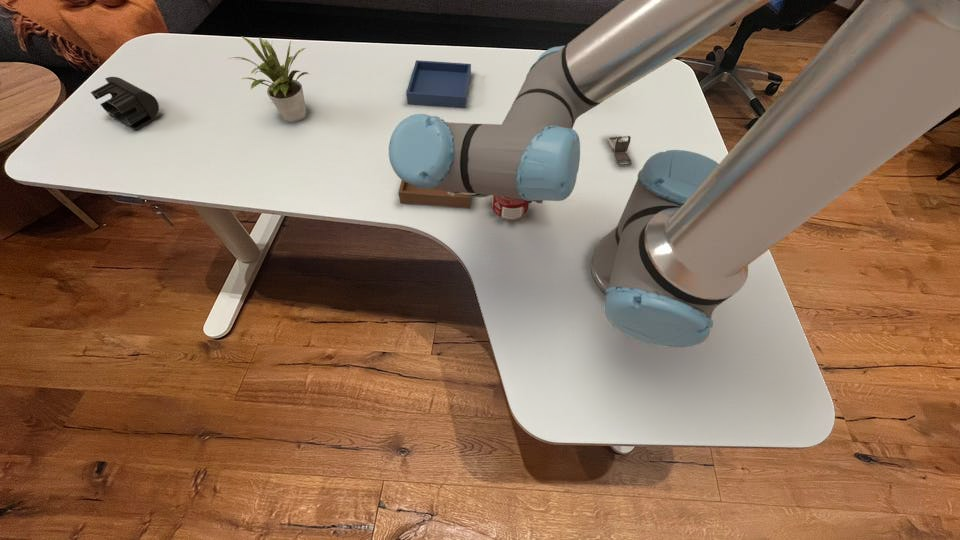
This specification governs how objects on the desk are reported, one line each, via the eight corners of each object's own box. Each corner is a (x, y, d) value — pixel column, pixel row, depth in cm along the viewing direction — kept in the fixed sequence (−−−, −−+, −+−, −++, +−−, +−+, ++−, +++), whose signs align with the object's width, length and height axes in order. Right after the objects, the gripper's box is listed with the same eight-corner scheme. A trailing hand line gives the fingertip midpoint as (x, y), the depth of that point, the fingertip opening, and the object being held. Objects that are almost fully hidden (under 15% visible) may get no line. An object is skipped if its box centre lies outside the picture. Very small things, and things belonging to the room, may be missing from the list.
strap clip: (605, 140, 93) (610, 123, 89) (619, 138, 93) (625, 122, 90) (618, 167, 88) (624, 150, 85) (632, 166, 88) (638, 149, 85)
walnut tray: (470, 208, 81) (470, 198, 79) (400, 203, 82) (398, 192, 79) (476, 160, 89) (476, 149, 86) (412, 155, 89) (410, 144, 87)
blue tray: (465, 108, 98) (465, 97, 96) (407, 104, 98) (406, 93, 96) (470, 74, 105) (471, 63, 103) (417, 71, 106) (415, 60, 104)
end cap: (167, 114, 95) (147, 86, 89) (137, 132, 91) (115, 104, 86) (138, 99, 98) (118, 71, 92) (108, 115, 94) (85, 87, 89)
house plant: (240, 121, 94) (202, 47, 80) (285, 88, 101) (256, 14, 87) (292, 142, 90) (260, 68, 77) (334, 106, 97) (312, 33, 84)
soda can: (525, 225, 79) (533, 177, 69) (488, 219, 80) (491, 170, 70) (530, 199, 83) (538, 149, 73) (495, 193, 83) (498, 143, 74)
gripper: (405, 164, 63) (469, 180, 84) (522, 224, 57) (559, 225, 78) (424, 114, 61) (485, 144, 82) (548, 171, 55) (578, 187, 76)
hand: (521, 183), depth 80 cm, fingers closed on soda can, 7 cm apart
